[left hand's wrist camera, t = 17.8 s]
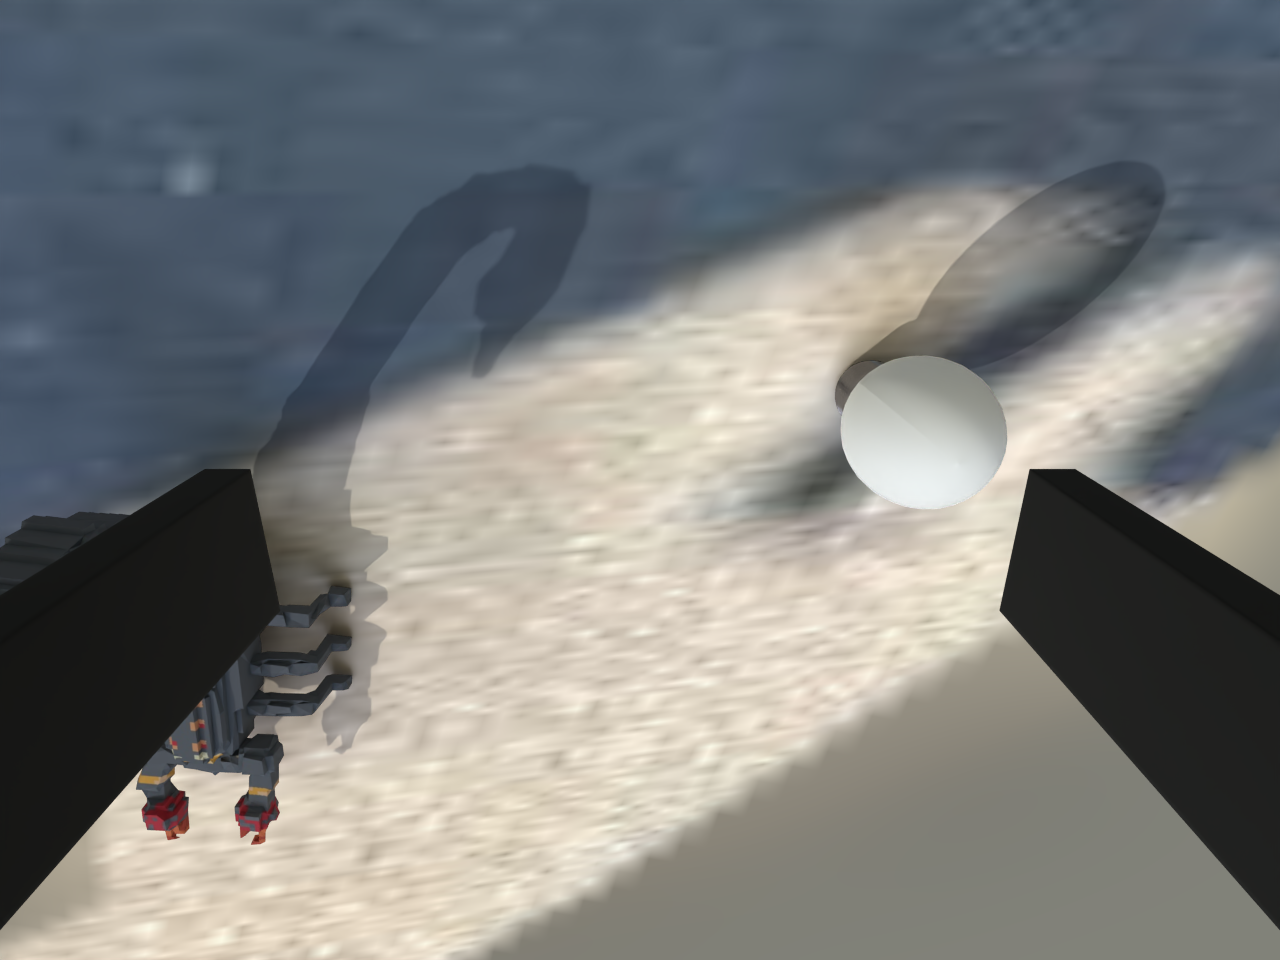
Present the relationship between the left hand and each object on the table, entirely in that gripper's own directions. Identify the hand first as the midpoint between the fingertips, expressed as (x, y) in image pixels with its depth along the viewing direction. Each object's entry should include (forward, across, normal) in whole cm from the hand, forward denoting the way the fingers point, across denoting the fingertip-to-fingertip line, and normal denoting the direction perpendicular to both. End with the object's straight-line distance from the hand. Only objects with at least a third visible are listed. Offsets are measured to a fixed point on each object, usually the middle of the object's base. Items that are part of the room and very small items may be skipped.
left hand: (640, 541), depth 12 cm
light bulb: (+27, -13, +4) cm, 30 cm away
